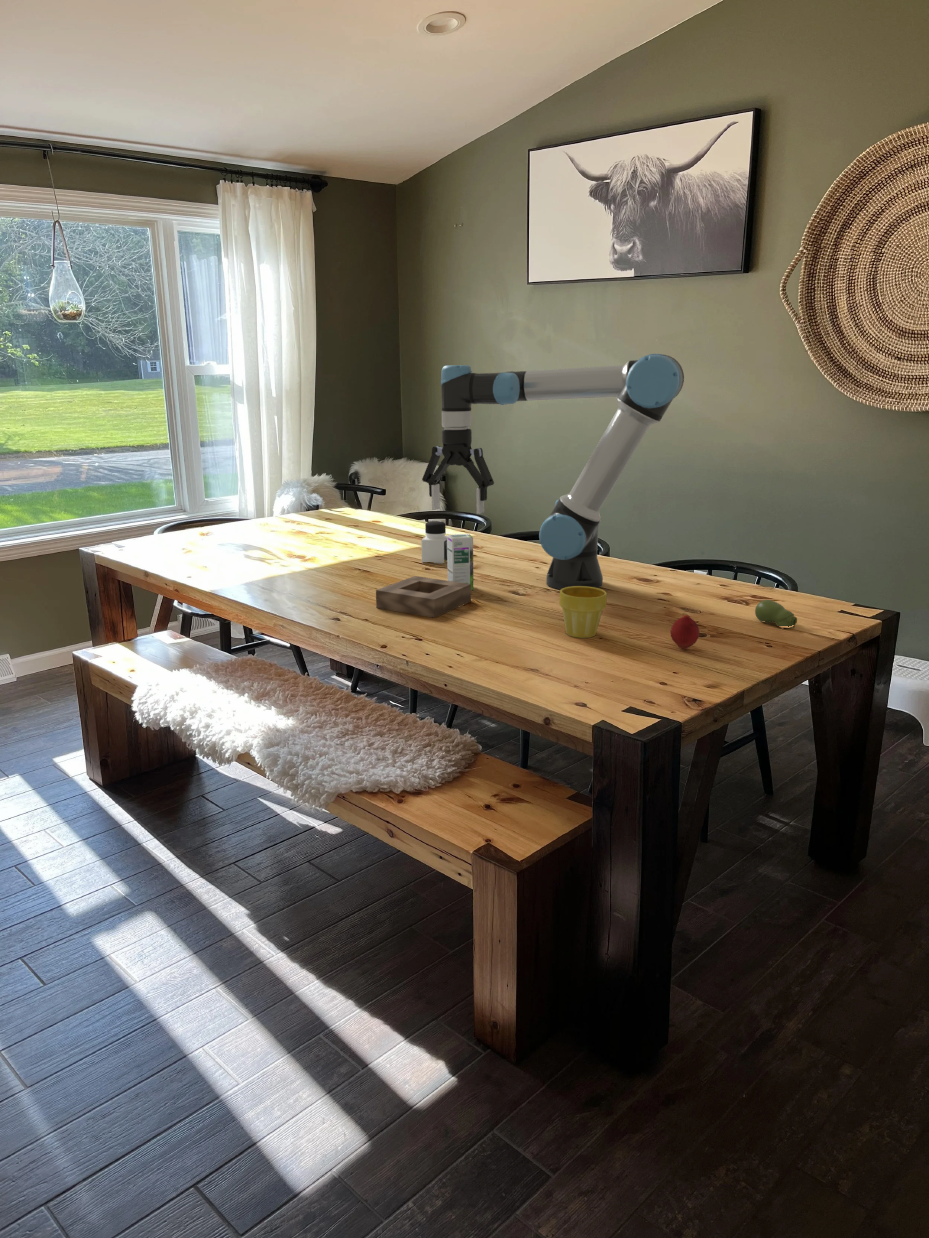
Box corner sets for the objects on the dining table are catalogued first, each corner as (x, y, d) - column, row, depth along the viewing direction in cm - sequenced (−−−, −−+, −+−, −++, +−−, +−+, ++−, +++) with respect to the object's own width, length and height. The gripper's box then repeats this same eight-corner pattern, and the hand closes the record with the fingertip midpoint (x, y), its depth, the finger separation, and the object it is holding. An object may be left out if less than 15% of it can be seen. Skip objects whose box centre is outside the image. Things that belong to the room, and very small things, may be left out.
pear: (768, 594, 210) (804, 611, 203) (762, 615, 212) (798, 632, 205) (753, 598, 206) (790, 615, 199) (748, 619, 209) (784, 636, 202)
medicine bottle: (444, 563, 266) (444, 524, 262) (421, 562, 267) (420, 523, 264) (449, 558, 273) (449, 519, 269) (427, 557, 274) (426, 519, 271)
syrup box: (452, 592, 234) (452, 537, 230) (447, 586, 240) (446, 533, 235) (473, 590, 236) (473, 536, 231) (467, 585, 241) (467, 532, 237)
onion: (693, 644, 191) (696, 609, 189) (701, 653, 186) (704, 616, 184) (666, 645, 191) (668, 609, 189) (673, 653, 186) (676, 616, 183)
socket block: (471, 601, 225) (471, 584, 224) (434, 617, 211) (434, 599, 210) (415, 592, 234) (415, 575, 232) (376, 607, 220) (375, 590, 218)
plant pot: (612, 631, 201) (614, 589, 198) (594, 643, 192) (596, 599, 190) (569, 624, 206) (571, 583, 203) (550, 636, 197) (551, 593, 195)
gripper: (507, 428, 223) (506, 512, 229) (423, 425, 236) (425, 505, 242) (492, 430, 217) (492, 517, 223) (407, 427, 230) (410, 509, 236)
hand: (457, 511), depth 232 cm, fingers open, 13 cm apart
